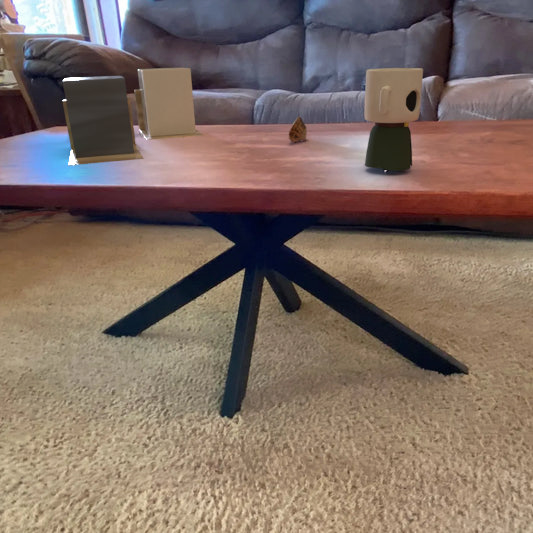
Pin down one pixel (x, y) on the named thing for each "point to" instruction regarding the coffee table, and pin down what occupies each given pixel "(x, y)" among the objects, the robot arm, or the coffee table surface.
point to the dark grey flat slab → (99, 120)
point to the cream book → (168, 101)
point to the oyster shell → (298, 131)
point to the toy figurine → (391, 115)
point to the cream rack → (143, 118)
